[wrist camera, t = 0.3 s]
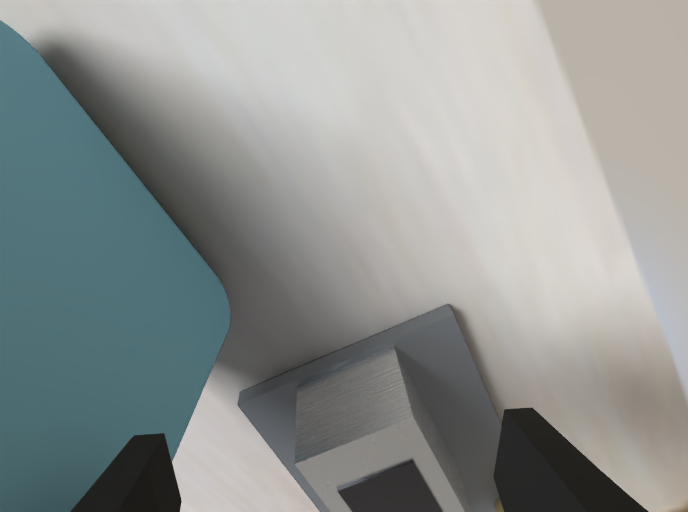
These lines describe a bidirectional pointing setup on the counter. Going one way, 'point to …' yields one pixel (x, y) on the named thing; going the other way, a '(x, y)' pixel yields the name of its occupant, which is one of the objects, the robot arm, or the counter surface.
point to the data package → (87, 298)
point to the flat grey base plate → (432, 385)
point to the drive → (374, 442)
